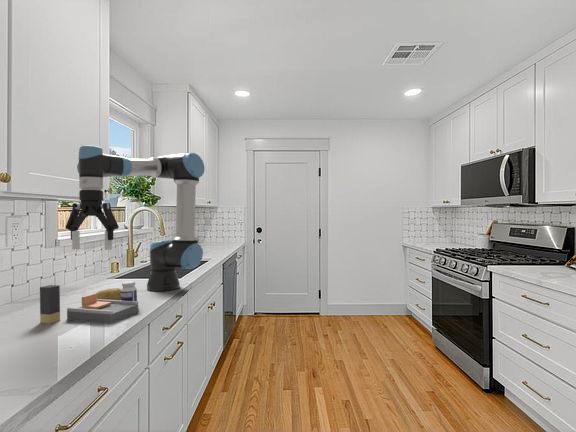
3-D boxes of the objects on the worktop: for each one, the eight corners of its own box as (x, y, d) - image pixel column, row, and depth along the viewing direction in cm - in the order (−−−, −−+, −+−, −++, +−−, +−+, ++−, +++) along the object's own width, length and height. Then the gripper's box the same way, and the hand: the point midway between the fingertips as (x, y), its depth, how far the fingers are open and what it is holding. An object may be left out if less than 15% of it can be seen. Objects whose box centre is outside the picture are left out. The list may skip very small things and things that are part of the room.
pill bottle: (130, 305, 148) (129, 280, 148) (140, 306, 146) (140, 281, 146) (117, 308, 143) (117, 282, 143) (127, 310, 141) (127, 284, 141)
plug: (50, 319, 130) (50, 284, 129) (60, 320, 128) (59, 285, 128) (40, 322, 126) (39, 287, 126) (49, 323, 125) (49, 287, 125)
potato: (124, 304, 150) (124, 288, 150) (93, 308, 145) (93, 291, 145) (123, 300, 156) (123, 286, 156) (93, 304, 151) (93, 288, 151)
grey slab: (97, 309, 142) (97, 299, 142) (138, 312, 138) (138, 301, 138) (67, 319, 129) (67, 308, 129) (110, 323, 124) (110, 311, 124)
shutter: (95, 303, 138) (95, 293, 138) (111, 304, 137) (111, 294, 137) (80, 308, 132) (80, 297, 132) (96, 309, 130) (96, 298, 130)
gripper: (53, 189, 133) (54, 249, 133) (114, 188, 127) (115, 250, 127) (70, 191, 140) (71, 247, 140) (128, 189, 134) (129, 248, 134)
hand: (92, 249), depth 133 cm, fingers open, 13 cm apart
